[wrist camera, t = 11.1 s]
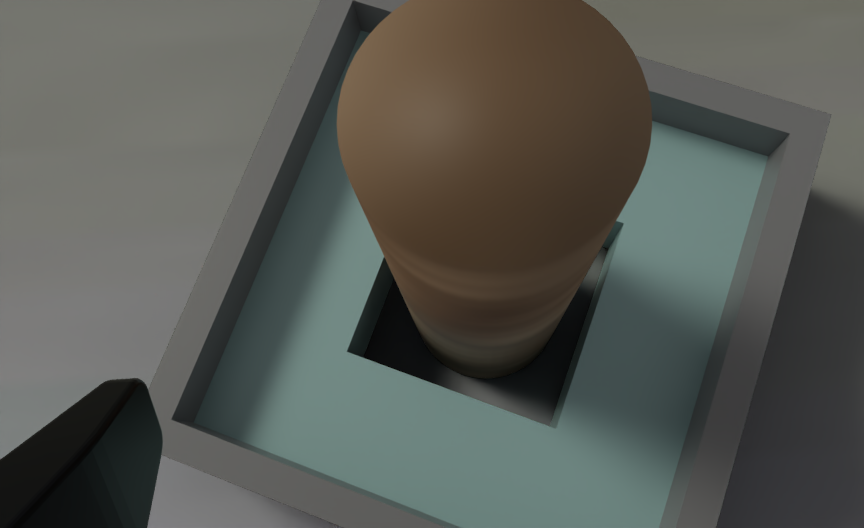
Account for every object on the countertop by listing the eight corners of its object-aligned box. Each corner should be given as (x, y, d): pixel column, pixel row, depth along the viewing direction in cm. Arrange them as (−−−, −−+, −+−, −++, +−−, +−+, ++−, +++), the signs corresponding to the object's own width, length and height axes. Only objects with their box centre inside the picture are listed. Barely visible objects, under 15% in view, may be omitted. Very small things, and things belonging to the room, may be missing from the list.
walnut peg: (574, 265, 23) (690, 26, 10) (530, 399, 22) (596, 313, 10) (443, 221, 24) (401, -58, 11) (395, 349, 23) (289, 207, 10)
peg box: (772, 172, 23) (831, 114, 19) (640, 624, 21) (678, 662, 17) (358, 42, 25) (335, -35, 21) (187, 444, 22) (125, 440, 18)
